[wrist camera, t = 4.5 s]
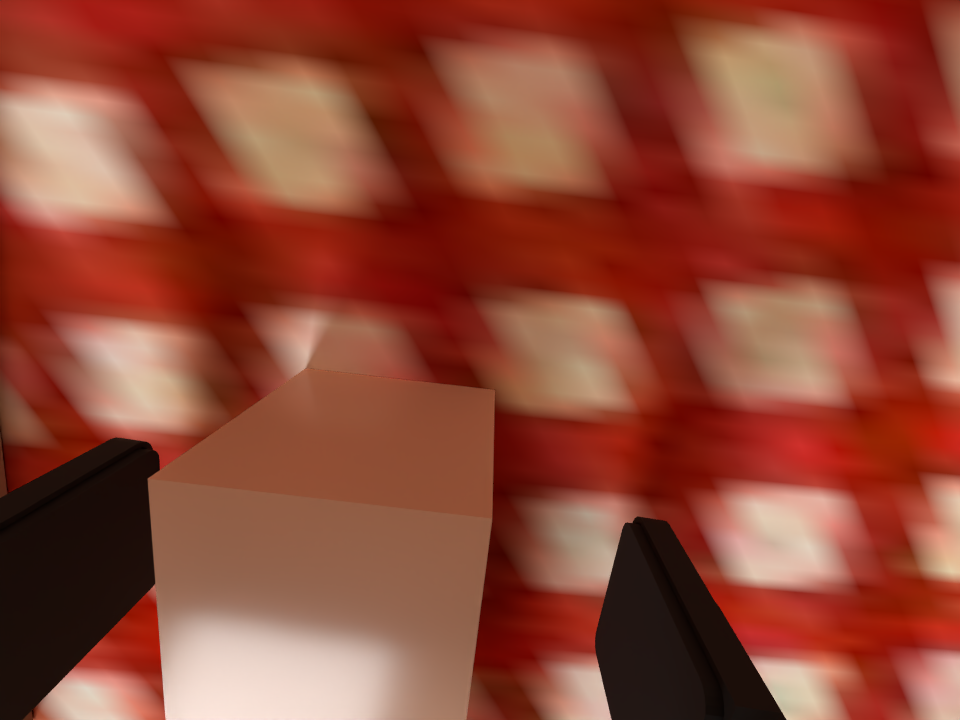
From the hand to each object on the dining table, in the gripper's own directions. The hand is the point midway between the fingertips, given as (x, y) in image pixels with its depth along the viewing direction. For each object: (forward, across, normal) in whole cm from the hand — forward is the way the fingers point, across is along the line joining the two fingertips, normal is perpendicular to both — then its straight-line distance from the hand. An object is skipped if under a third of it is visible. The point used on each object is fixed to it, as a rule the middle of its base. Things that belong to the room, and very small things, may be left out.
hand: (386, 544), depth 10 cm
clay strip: (+2, 0, +6) cm, 6 cm away
